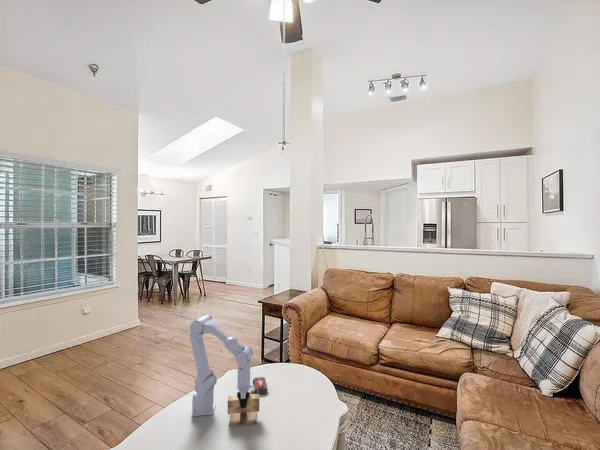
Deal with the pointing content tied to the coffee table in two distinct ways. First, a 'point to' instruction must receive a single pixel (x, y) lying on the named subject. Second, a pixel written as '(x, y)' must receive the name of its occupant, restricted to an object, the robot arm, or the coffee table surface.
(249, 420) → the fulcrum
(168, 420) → the coffee table surface
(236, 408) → the oak bar
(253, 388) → the walkie-talkie
